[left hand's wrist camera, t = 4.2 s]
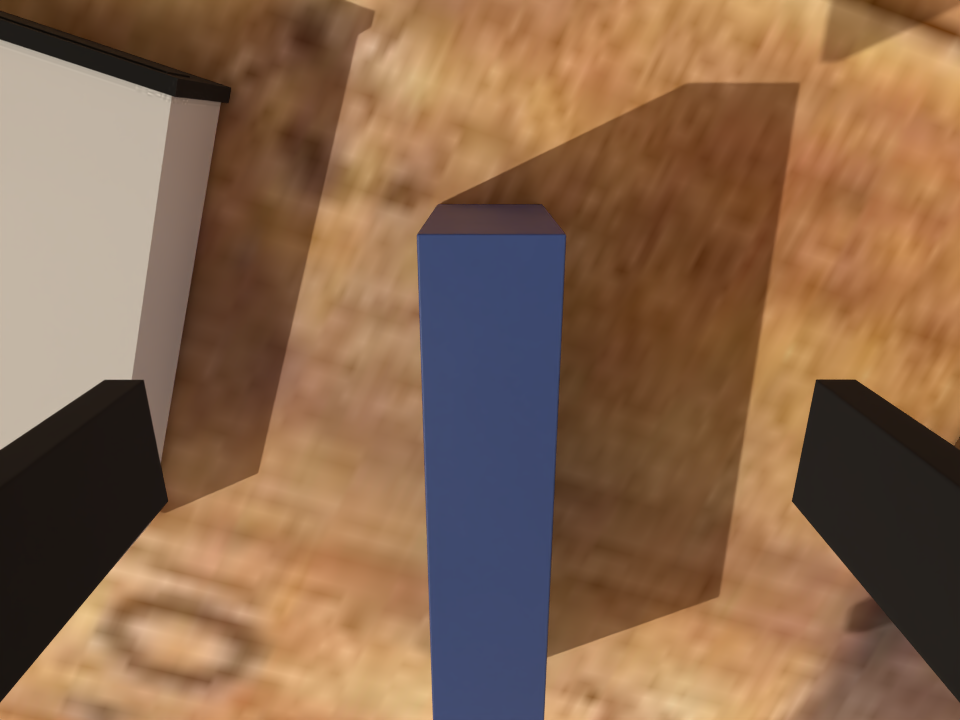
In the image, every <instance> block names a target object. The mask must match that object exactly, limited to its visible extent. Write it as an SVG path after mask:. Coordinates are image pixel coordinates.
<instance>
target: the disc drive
mask: <svg viewBox="0 0 960 720" xmlns="http://www.w3.org/2000/svg"><path fill="white" fill-rule="evenodd" d="M230 91H231V88H230V87H227V86H224V85H221V84H218V83H215V82H212V81H209V80H206V79H203V78H200V77H197V76H194V75H191V74H188V73H185V72H182V71H179V70H176V69H173V68H170V67H167V66H164V65H161V64H158V63H155V62H152V61H149V60H146V59H143V58H140V57H137V56H134V55H131V54H128V53H125V52H122V51H119V50H116V49H113V48H110V47H107V46H104V45H101V44H98V43H95V42H92V41H89V40H86V39H83V38H80V37H77V36H74V35H71V34H68V33H65V32H62V31H59V30H56V29H53V28H50V27H47V26H44V25H41V24H38V23H35V22H32V21H29V20H26V19H23V18H20V17H17V16H14V15H11V14H8V13H5V12H2V11H0V450H1V449H2V448H4V447H5V446H7V445H8V444H10V443H11V442H13V441H14V440H16V439H17V438H19V437H20V436H22V435H23V434H25V433H26V432H28V431H29V430H31V429H32V428H34V427H35V426H37V425H38V424H40V423H41V422H42V421H44V420H45V419H47V418H48V417H50V416H51V415H53V414H54V413H56V412H57V411H59V410H60V409H62V408H63V407H65V406H66V405H68V404H69V403H71V402H72V401H74V400H75V399H77V398H78V397H80V396H81V395H83V394H84V393H86V392H87V391H89V390H90V389H92V388H93V387H95V386H96V385H97V384H99V383H100V382H102V381H103V380H144V383H145V388H146V393H147V398H148V403H149V408H150V413H151V418H152V423H153V428H154V433H155V438H156V443H157V448H158V453H159V458H160V463H161V459H162V453H163V447H164V441H165V435H166V429H167V423H168V417H169V411H170V405H171V399H172V393H173V387H174V381H175V375H176V369H177V363H178V357H179V351H180V345H181V339H182V333H183V327H184V321H185V315H186V309H187V303H188V297H189V291H190V285H191V279H192V273H193V267H194V261H195V255H196V249H197V243H198V237H199V231H200V225H201V219H202V213H203V207H204V201H205V195H206V189H207V183H208V177H209V171H210V165H211V159H212V153H213V147H214V141H215V135H216V129H217V123H218V117H219V111H220V105H221V102H222V103H229V97H230ZM150 523H151V522H150ZM150 523H149V524H150ZM148 526H149V525H148ZM148 526H147V527H148ZM147 527H146V528H147ZM146 528H145V529H146ZM145 529H144V530H145ZM143 532H144V531H143ZM143 532H142V533H143ZM142 533H141V534H142ZM141 534H140V535H141ZM140 535H139V536H140ZM137 539H138V538H137ZM137 539H136V540H137ZM136 540H135V541H136ZM135 541H134V542H135ZM131 546H132V545H131ZM131 546H130V547H131ZM130 547H129V548H130ZM125 553H126V552H125ZM125 553H124V554H125ZM120 559H121V558H120ZM120 559H119V560H120ZM114 566H115V565H114Z"/></svg>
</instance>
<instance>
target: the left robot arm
mask: <svg viewBox="0 0 960 720" xmlns="http://www.w3.org/2000/svg"><path fill="white" fill-rule="evenodd" d="M167 502H168V498H167V493H166V488H165V483H164V478H163V473H162V468H161V463H160V458H159V453H158V448H157V443H156V438H155V433H154V428H153V423H152V418H151V413H150V408H149V403H148V398H147V393H146V388H145V383H144V380H103V381H102V382H100V383H99V384H97V385H96V386H95V387H93V388H92V389H90V390H89V391H87V392H86V393H84V394H83V395H81V396H80V397H78V398H77V399H75V400H74V401H72V402H71V403H69V404H68V405H66V406H65V407H63V408H62V409H60V410H59V411H57V412H56V413H54V414H53V415H51V416H50V417H48V418H47V419H45V420H44V421H42V422H41V423H40V424H38V425H37V426H35V427H34V428H32V429H31V430H29V431H28V432H26V433H25V434H23V435H22V436H20V437H19V438H17V439H16V440H14V441H13V442H11V443H10V444H8V445H7V446H5V447H4V448H2V449H1V450H0V702H1V701H2V700H3V699H4V697H5V696H6V695H7V694H8V693H9V691H10V690H11V689H12V688H13V687H14V685H15V684H16V683H17V682H18V681H19V679H20V678H21V677H22V676H23V675H24V673H25V672H26V671H27V670H28V669H29V667H30V666H31V665H32V664H33V663H34V661H35V660H36V659H37V658H38V657H39V655H40V654H41V653H42V652H43V651H44V649H45V648H46V647H47V646H48V645H49V643H50V642H51V641H52V640H53V639H54V637H55V636H56V635H57V634H58V633H59V631H60V630H61V629H62V628H63V627H64V625H65V624H66V623H67V622H68V621H69V619H70V618H71V617H72V616H73V615H74V613H75V612H76V611H77V610H78V609H79V607H80V606H81V605H82V604H83V603H84V601H85V600H86V599H87V598H88V597H89V595H90V594H91V593H92V592H93V591H94V589H95V588H96V587H97V586H98V585H99V583H100V582H101V581H102V580H103V579H104V577H105V576H106V575H107V574H108V573H109V571H110V570H111V569H112V568H113V567H114V565H115V564H116V563H117V562H118V561H119V559H120V558H121V557H122V556H123V555H124V553H125V552H126V551H127V550H128V549H129V547H130V546H131V545H132V544H133V543H134V541H135V540H136V539H137V538H138V537H139V535H140V534H141V533H142V532H143V531H144V529H145V528H146V527H147V526H148V525H149V523H150V522H151V521H152V520H153V519H154V517H155V516H156V515H157V514H158V513H159V511H160V510H161V509H162V508H163V507H164V505H165V504H166V503H167ZM792 502H793V503H794V504H795V505H796V507H797V508H798V509H799V510H800V511H801V513H802V514H803V515H804V516H805V517H806V519H807V520H808V521H809V522H810V523H811V525H812V526H813V527H814V528H815V529H816V531H817V532H818V533H819V534H820V535H821V537H822V538H823V539H824V540H825V541H826V543H827V544H828V545H829V546H830V547H831V549H832V550H833V551H834V552H835V553H836V555H837V556H838V557H839V558H840V559H841V561H842V562H843V563H844V564H845V565H846V567H847V568H848V569H849V570H850V571H851V573H852V574H853V575H854V576H855V577H856V579H857V580H858V581H859V582H860V583H861V585H862V586H863V587H864V588H865V589H866V591H867V592H868V593H869V594H870V595H871V597H872V598H873V599H874V600H875V601H876V603H877V604H878V605H879V606H880V607H881V609H882V610H883V611H884V612H885V613H886V615H887V616H888V617H889V618H890V619H891V621H892V622H893V623H894V624H895V625H896V627H897V628H898V629H899V630H900V631H901V633H902V634H903V635H904V636H905V637H906V639H907V640H908V641H909V642H910V643H911V645H912V646H913V647H914V648H915V649H916V651H917V652H918V653H919V654H920V655H921V657H922V658H923V659H924V660H925V661H926V663H927V664H928V665H929V666H930V667H931V669H932V670H933V671H934V672H935V673H936V675H937V676H938V677H939V678H940V679H941V681H942V682H943V683H944V684H945V685H946V687H947V688H948V689H949V690H950V691H951V693H952V694H953V695H954V696H955V697H956V699H957V700H958V701H959V702H960V437H959V439H958V441H957V442H956V444H955V446H953V445H952V444H950V443H949V442H947V441H946V440H944V439H943V438H941V437H940V436H938V435H937V434H935V433H934V432H932V431H931V430H929V429H928V428H926V427H925V426H923V425H922V424H920V423H919V422H918V421H916V420H915V419H913V418H912V417H910V416H909V415H907V414H906V413H904V412H903V411H901V410H900V409H898V408H897V407H895V406H894V405H892V404H891V403H889V402H888V401H886V400H885V399H883V398H882V397H880V396H879V395H877V394H876V393H874V392H873V391H871V390H870V389H868V388H867V387H865V386H864V385H863V384H861V383H860V382H858V381H857V380H816V383H815V388H814V393H813V398H812V403H811V408H810V413H809V418H808V423H807V428H806V433H805V438H804V443H803V448H802V453H801V458H800V463H799V468H798V473H797V478H796V483H795V488H794V493H793V498H792Z"/></svg>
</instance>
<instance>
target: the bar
mask: <svg viewBox="0 0 960 720" xmlns="http://www.w3.org/2000/svg"><path fill="white" fill-rule="evenodd" d="M565 250H566V234H565V233H564V232H563V230H562V229H561V228H560V227H559V225H558V224H557V223H556V222H555V220H554V219H553V218H552V216H551V215H550V214H549V213H548V211H547V210H546V209H545V208H544V206H543V205H542V204H438V205H437V206H436V208H435V209H434V211H433V212H432V214H431V215H430V217H429V218H428V220H427V221H426V222H425V224H424V225H423V227H422V228H421V230H420V231H419V233H418V234H417V255H418V285H419V314H420V344H421V374H422V404H423V434H424V464H425V494H426V523H427V553H428V583H429V613H430V643H431V673H432V703H433V720H544V708H545V686H546V664H547V643H548V621H549V599H550V577H551V555H552V534H553V512H554V490H555V468H556V446H557V424H558V403H559V381H560V359H561V337H562V315H563V294H564V272H565Z"/></svg>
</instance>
